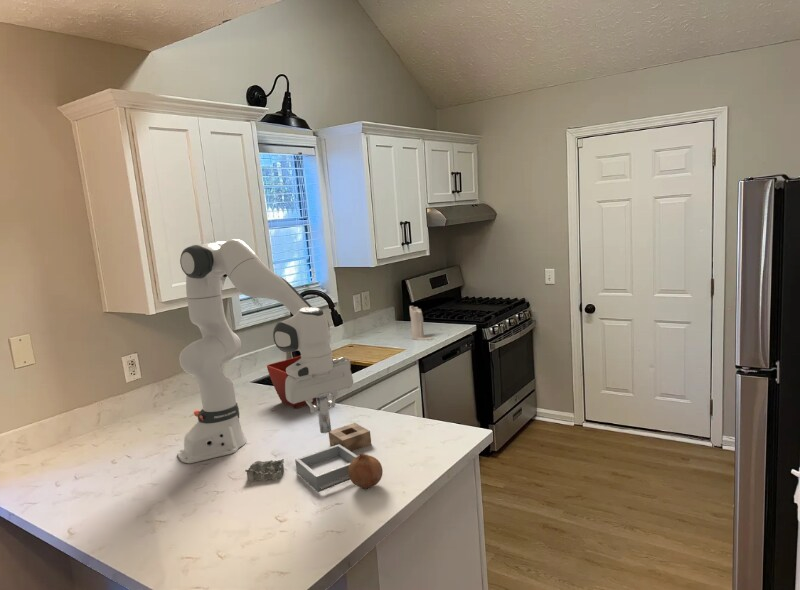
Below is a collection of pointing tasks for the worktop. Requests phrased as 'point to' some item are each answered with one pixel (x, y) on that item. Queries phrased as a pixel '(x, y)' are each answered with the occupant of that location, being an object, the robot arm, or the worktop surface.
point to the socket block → (350, 437)
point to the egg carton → (263, 467)
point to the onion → (365, 471)
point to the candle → (417, 324)
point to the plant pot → (283, 380)
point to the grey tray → (327, 476)
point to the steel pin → (323, 412)
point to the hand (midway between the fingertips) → (323, 409)
